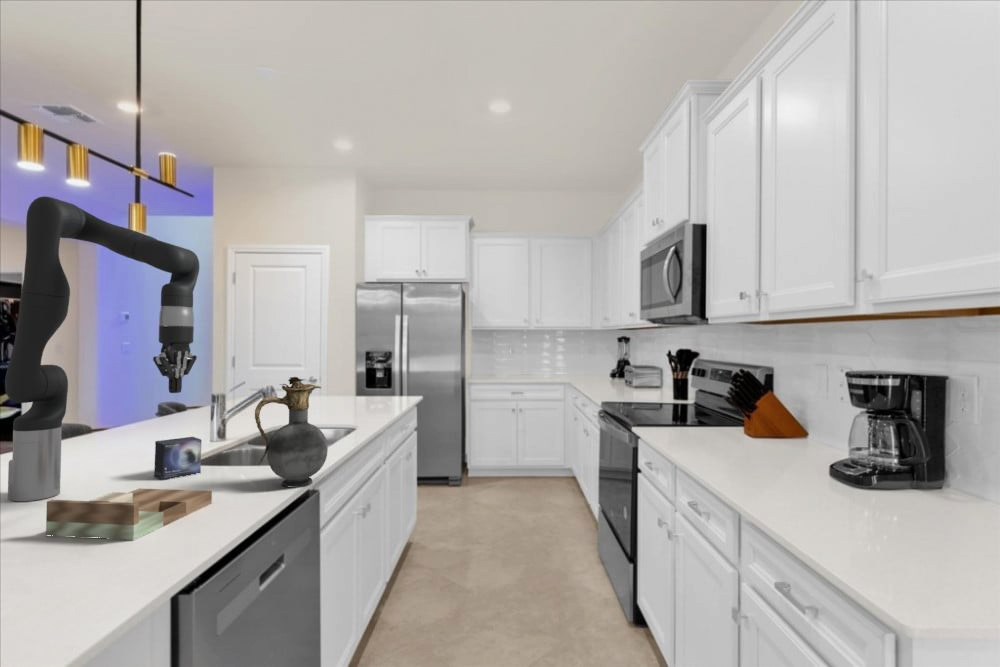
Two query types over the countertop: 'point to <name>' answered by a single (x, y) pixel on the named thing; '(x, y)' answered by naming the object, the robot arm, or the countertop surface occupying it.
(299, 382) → the pitcher
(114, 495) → the block
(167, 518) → the wooden compartment tray
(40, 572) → the countertop surface
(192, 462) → the small box
